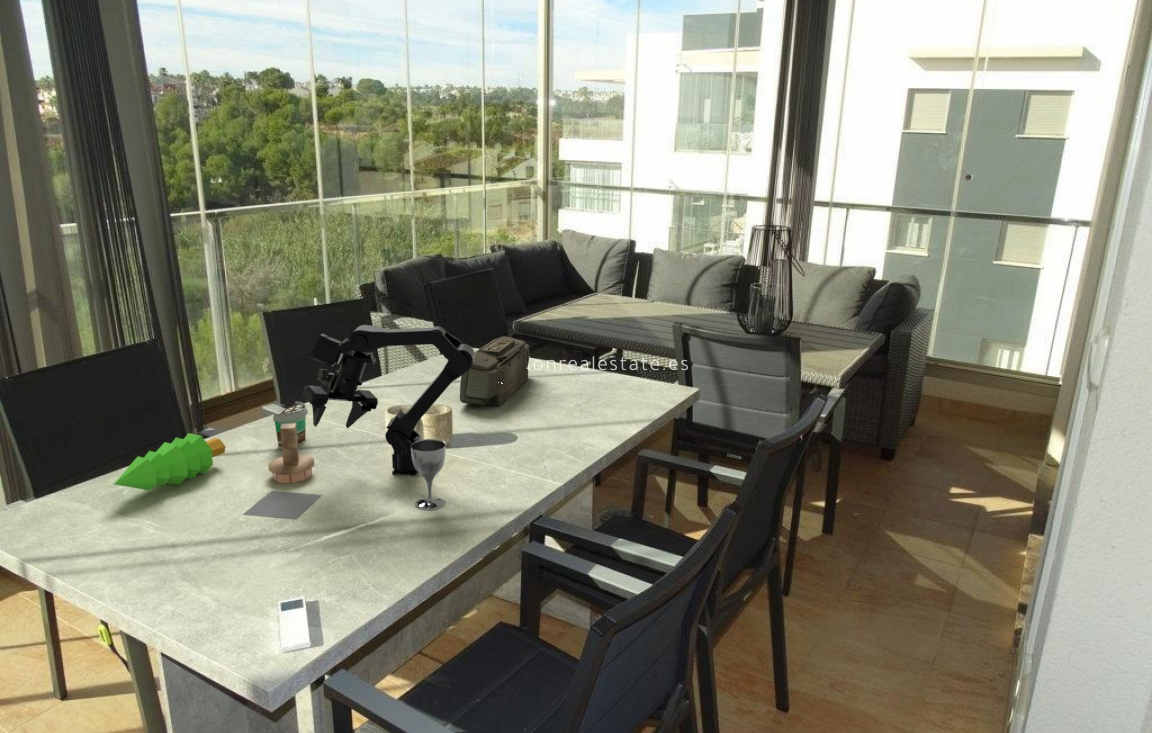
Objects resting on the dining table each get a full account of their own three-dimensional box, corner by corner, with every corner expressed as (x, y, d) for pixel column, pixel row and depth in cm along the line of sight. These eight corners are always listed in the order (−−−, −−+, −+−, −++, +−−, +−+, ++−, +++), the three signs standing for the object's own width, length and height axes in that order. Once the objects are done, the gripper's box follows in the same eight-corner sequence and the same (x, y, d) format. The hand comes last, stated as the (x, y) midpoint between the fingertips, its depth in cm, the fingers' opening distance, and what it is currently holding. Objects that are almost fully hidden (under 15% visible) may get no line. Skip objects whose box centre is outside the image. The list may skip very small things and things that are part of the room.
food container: (295, 450, 220) (292, 416, 217) (275, 448, 221) (272, 414, 218) (318, 434, 232) (315, 402, 229) (298, 433, 233) (296, 400, 230)
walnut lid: (316, 456, 207) (313, 417, 205) (311, 473, 197) (308, 432, 194) (272, 459, 205) (268, 419, 202) (265, 475, 195) (261, 434, 192)
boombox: (506, 387, 298) (490, 336, 295) (548, 376, 293) (532, 325, 290) (460, 418, 257) (441, 360, 254) (508, 407, 251) (489, 347, 249)
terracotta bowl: (317, 472, 206) (316, 460, 205) (301, 486, 197) (300, 474, 196) (284, 469, 207) (283, 458, 206) (267, 483, 198) (266, 471, 197)
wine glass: (431, 514, 184) (429, 454, 180) (406, 505, 188) (403, 446, 184) (453, 501, 190) (452, 443, 186) (428, 493, 195) (427, 436, 190)
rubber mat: (322, 497, 191) (322, 495, 191) (296, 521, 179) (296, 519, 179) (271, 493, 193) (271, 490, 193) (242, 516, 181) (242, 514, 180)
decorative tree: (224, 421, 206) (119, 456, 179) (239, 462, 207) (137, 503, 180) (195, 430, 211) (89, 466, 184) (210, 471, 212) (107, 512, 185)
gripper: (368, 362, 212) (349, 413, 216) (303, 354, 199) (284, 409, 202) (387, 381, 205) (368, 433, 209) (321, 375, 192) (302, 431, 195)
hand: (331, 426), depth 204 cm, fingers open, 9 cm apart
